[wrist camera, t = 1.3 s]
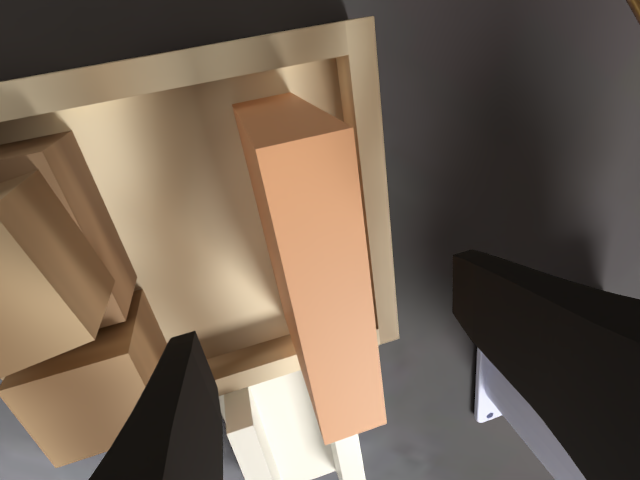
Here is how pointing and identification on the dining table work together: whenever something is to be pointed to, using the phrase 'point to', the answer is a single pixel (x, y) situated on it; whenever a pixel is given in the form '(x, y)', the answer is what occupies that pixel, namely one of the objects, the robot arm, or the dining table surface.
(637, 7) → the book
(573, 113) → the dining table surface
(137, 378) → the offcut
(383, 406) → the panel
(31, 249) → the offcut
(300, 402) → the holder
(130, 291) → the offcut
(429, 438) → the dining table surface
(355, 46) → the shallow wooden tray
